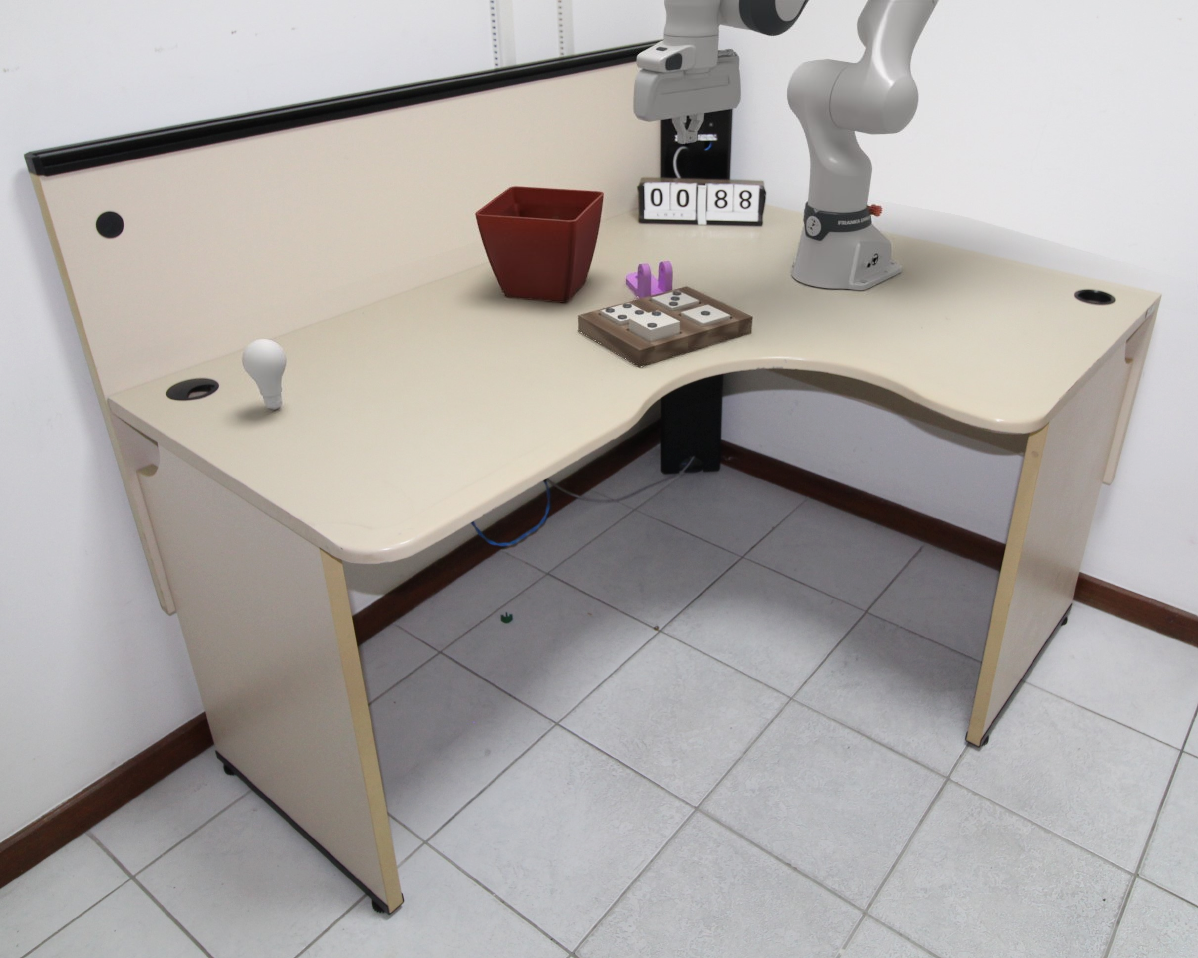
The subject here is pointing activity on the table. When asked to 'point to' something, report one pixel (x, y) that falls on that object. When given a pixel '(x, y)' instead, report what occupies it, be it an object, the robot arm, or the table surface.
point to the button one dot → (705, 315)
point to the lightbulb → (266, 369)
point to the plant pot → (541, 240)
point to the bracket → (650, 280)
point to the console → (672, 346)
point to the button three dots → (674, 301)
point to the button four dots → (622, 313)
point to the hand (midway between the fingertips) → (687, 142)
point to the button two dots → (654, 326)
